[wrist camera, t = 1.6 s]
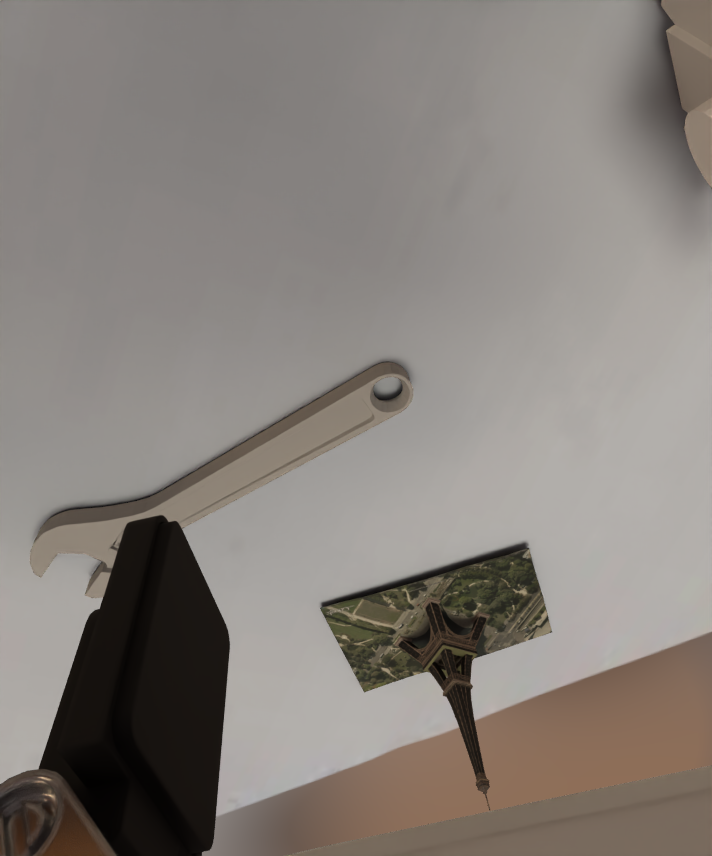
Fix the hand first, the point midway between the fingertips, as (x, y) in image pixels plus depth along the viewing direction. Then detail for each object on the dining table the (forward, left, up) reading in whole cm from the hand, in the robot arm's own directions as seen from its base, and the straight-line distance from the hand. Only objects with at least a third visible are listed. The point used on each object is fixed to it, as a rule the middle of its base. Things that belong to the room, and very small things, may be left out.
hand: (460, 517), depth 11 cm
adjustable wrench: (-1, -18, -24) cm, 30 cm away
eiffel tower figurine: (+17, -25, -24) cm, 39 cm away
